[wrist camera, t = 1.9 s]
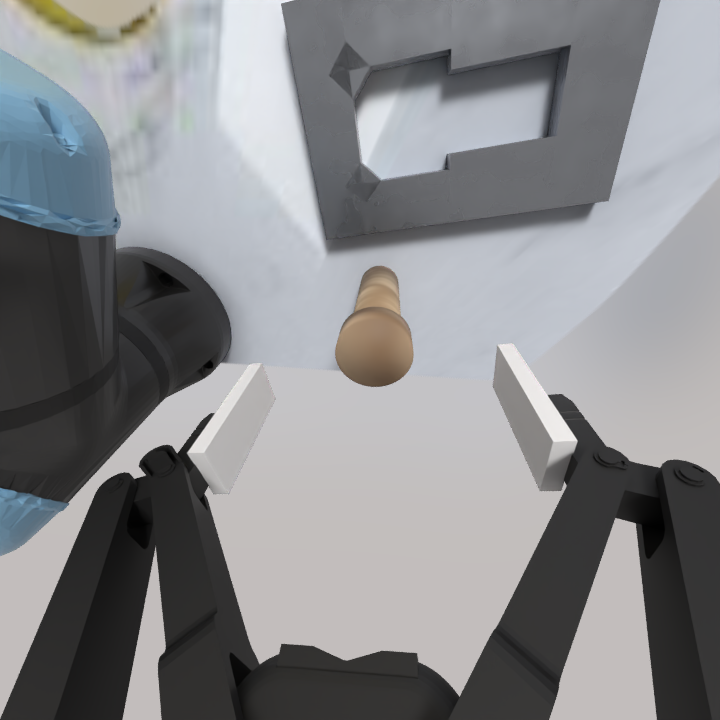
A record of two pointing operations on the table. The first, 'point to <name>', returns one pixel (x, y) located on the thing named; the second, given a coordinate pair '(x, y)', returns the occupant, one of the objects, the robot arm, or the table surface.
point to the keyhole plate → (465, 52)
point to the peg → (375, 333)
